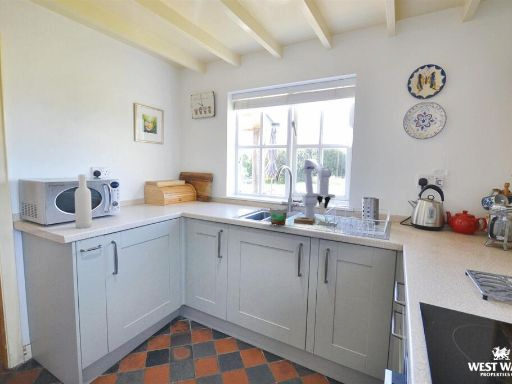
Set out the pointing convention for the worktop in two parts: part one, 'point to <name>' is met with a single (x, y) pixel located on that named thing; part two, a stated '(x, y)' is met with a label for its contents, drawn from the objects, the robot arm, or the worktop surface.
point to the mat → (326, 223)
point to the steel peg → (322, 208)
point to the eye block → (304, 220)
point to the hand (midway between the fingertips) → (323, 207)
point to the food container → (278, 216)
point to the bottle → (83, 204)
